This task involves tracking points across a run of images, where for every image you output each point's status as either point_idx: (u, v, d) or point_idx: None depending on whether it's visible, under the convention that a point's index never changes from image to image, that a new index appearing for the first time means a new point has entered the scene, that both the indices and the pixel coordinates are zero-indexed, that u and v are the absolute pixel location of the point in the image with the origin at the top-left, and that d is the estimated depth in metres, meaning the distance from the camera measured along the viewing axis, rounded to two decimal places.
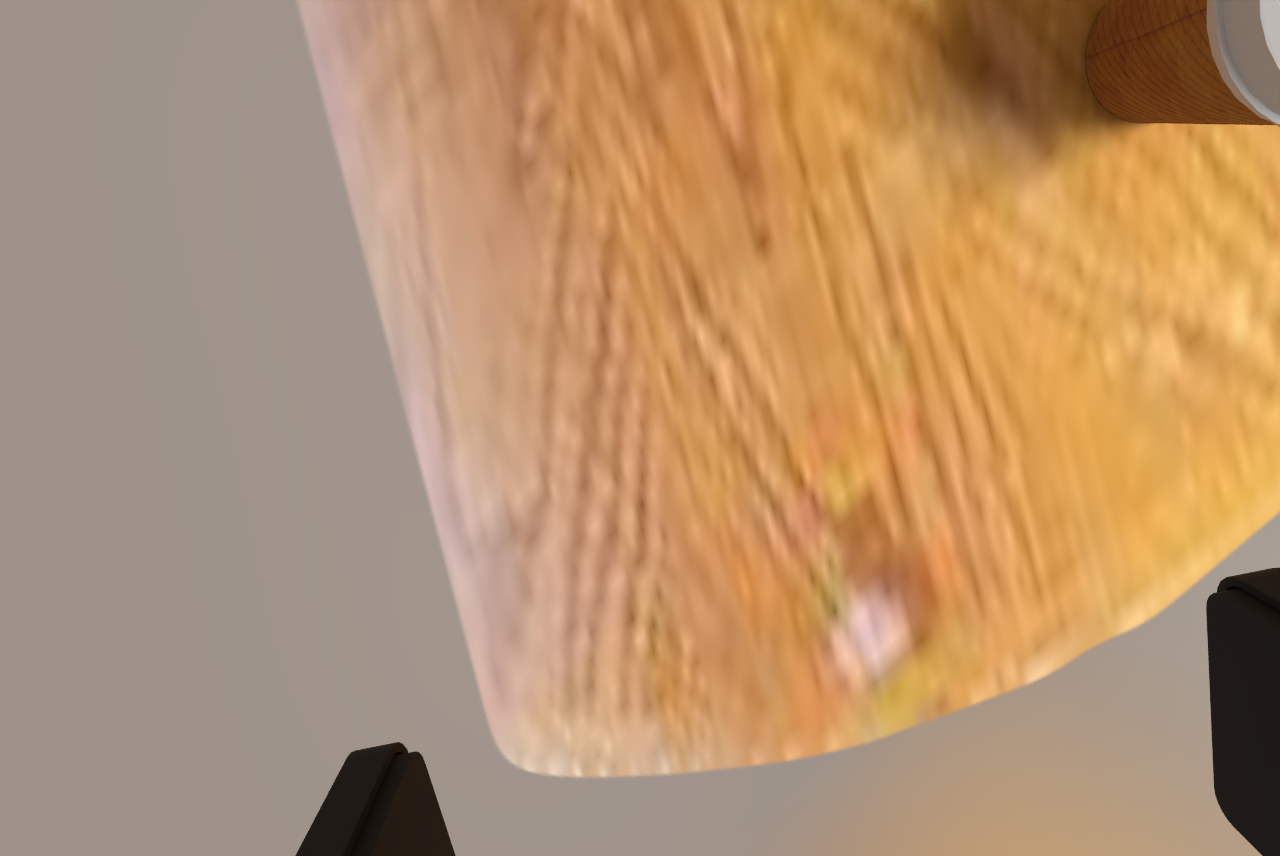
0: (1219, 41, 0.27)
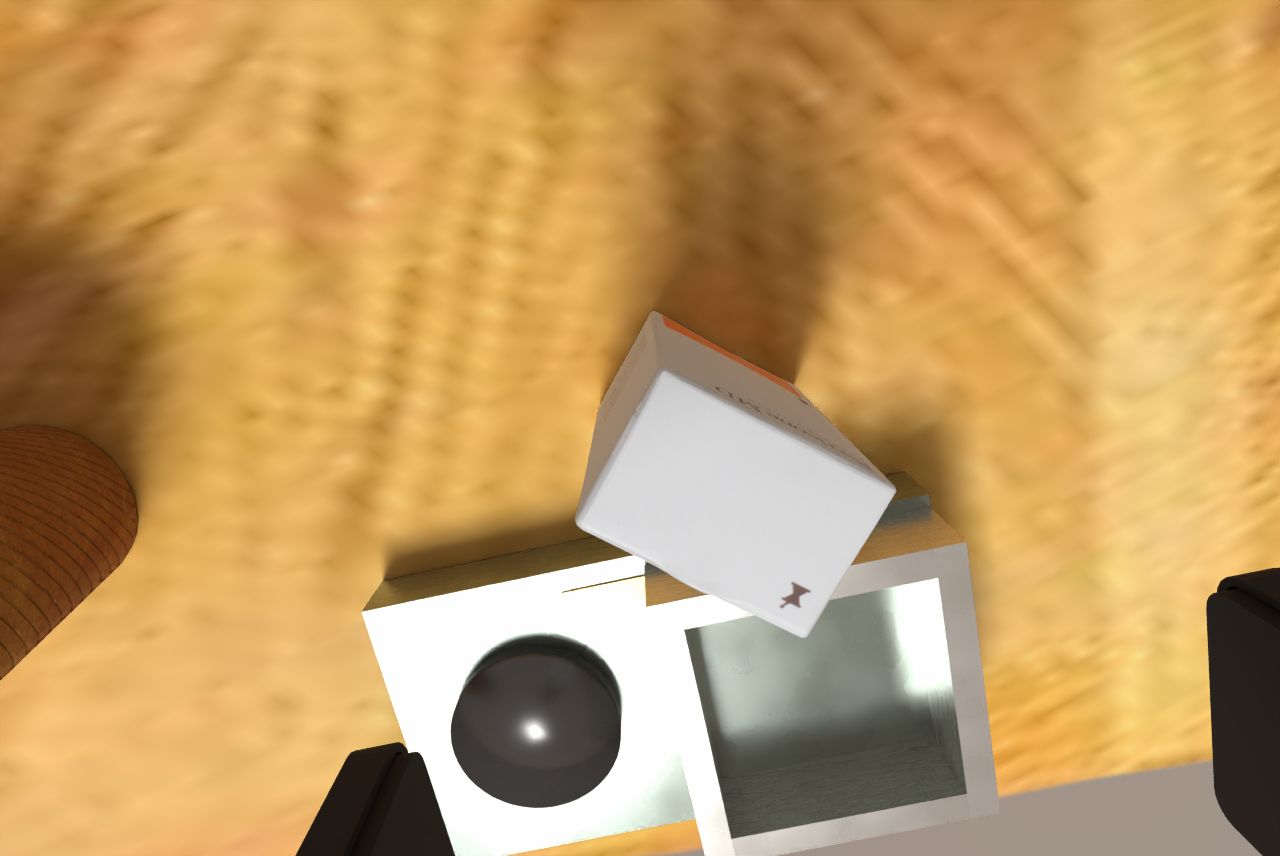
0: None
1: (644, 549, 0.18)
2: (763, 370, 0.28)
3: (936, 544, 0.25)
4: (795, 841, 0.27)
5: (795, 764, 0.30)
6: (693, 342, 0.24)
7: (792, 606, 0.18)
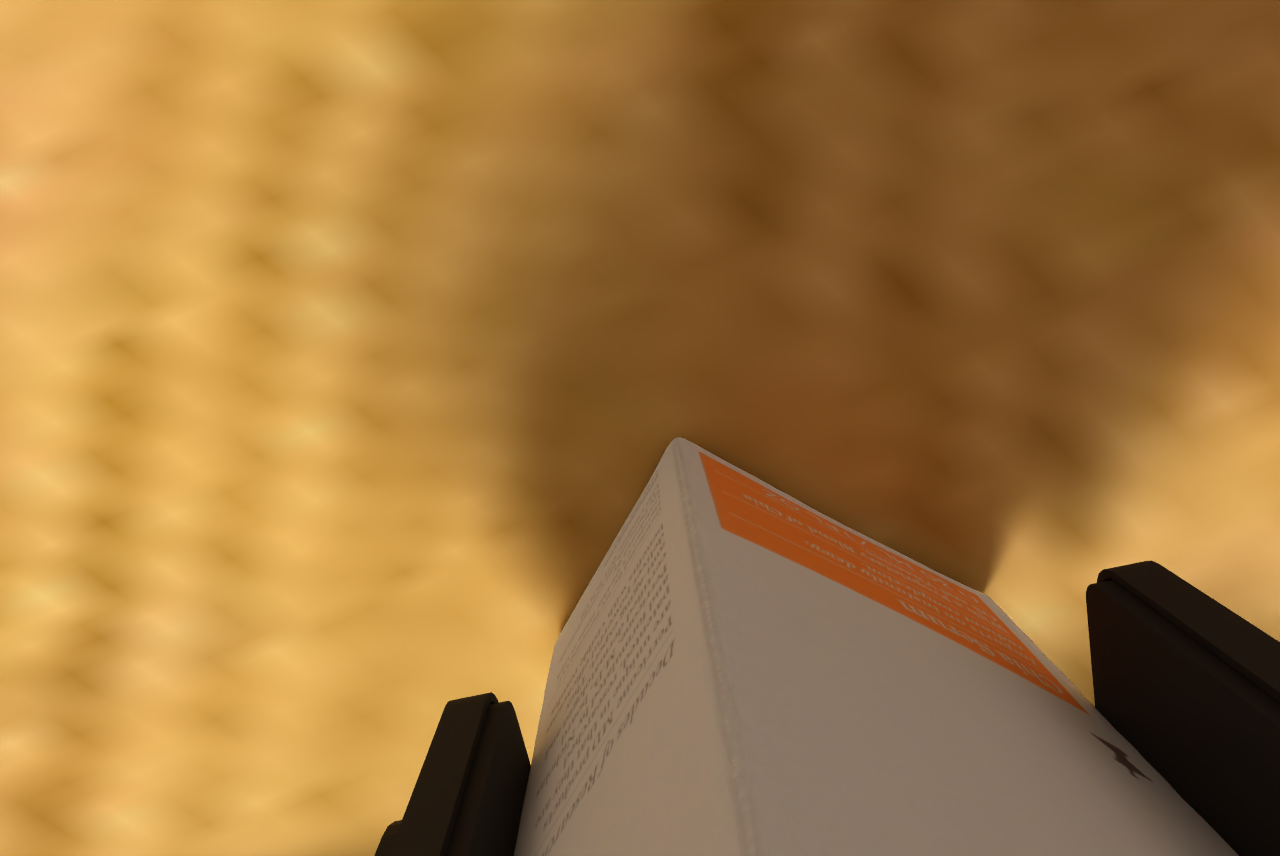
0: None
1: None
2: (937, 583, 0.12)
3: None
4: None
5: None
6: (810, 596, 0.08)
7: None
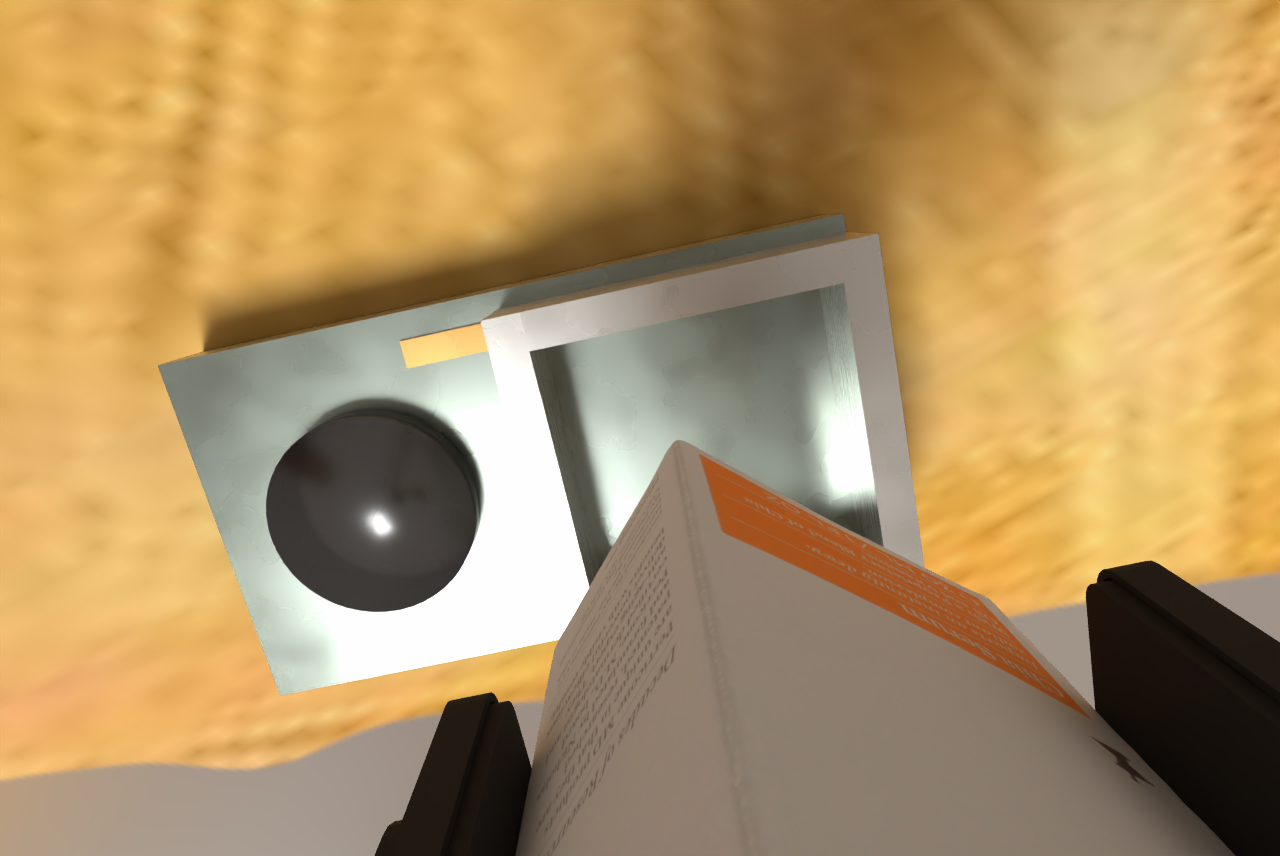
0: None
1: None
2: (938, 586, 0.12)
3: (842, 240, 0.20)
4: None
5: None
6: (811, 601, 0.08)
7: None
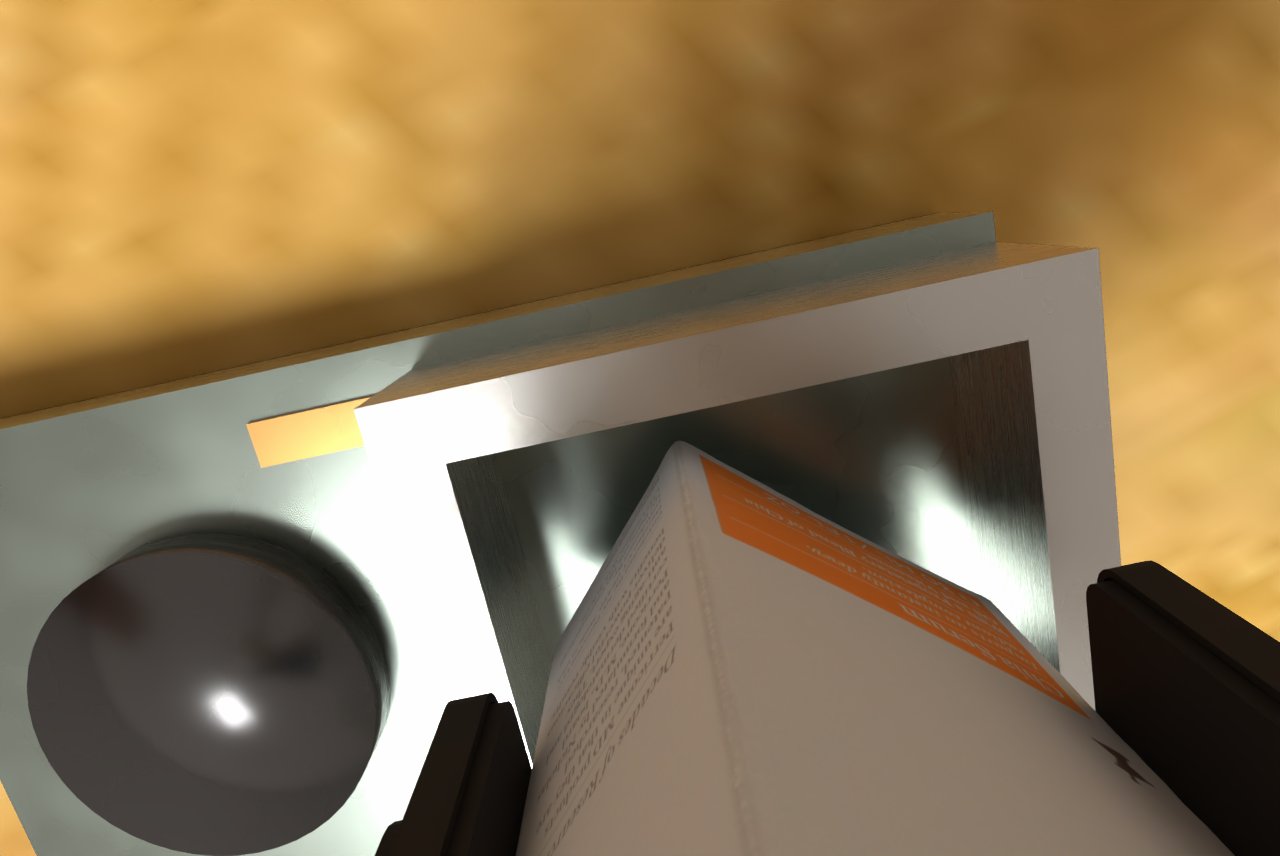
0: None
1: None
2: (938, 586, 0.12)
3: (1024, 260, 0.11)
4: None
5: None
6: (811, 601, 0.08)
7: None
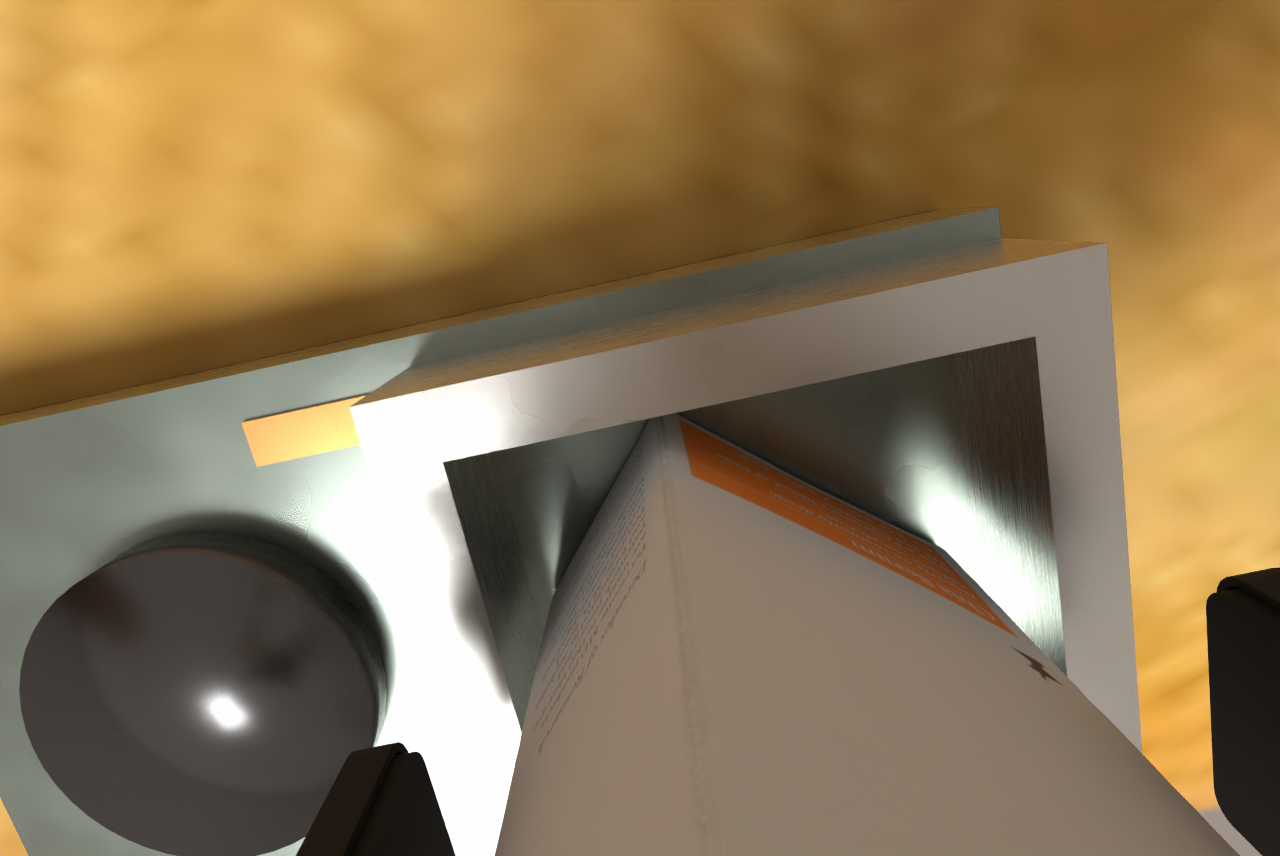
0: None
1: None
2: (893, 534, 0.13)
3: (1031, 256, 0.11)
4: None
5: None
6: (766, 528, 0.09)
7: None
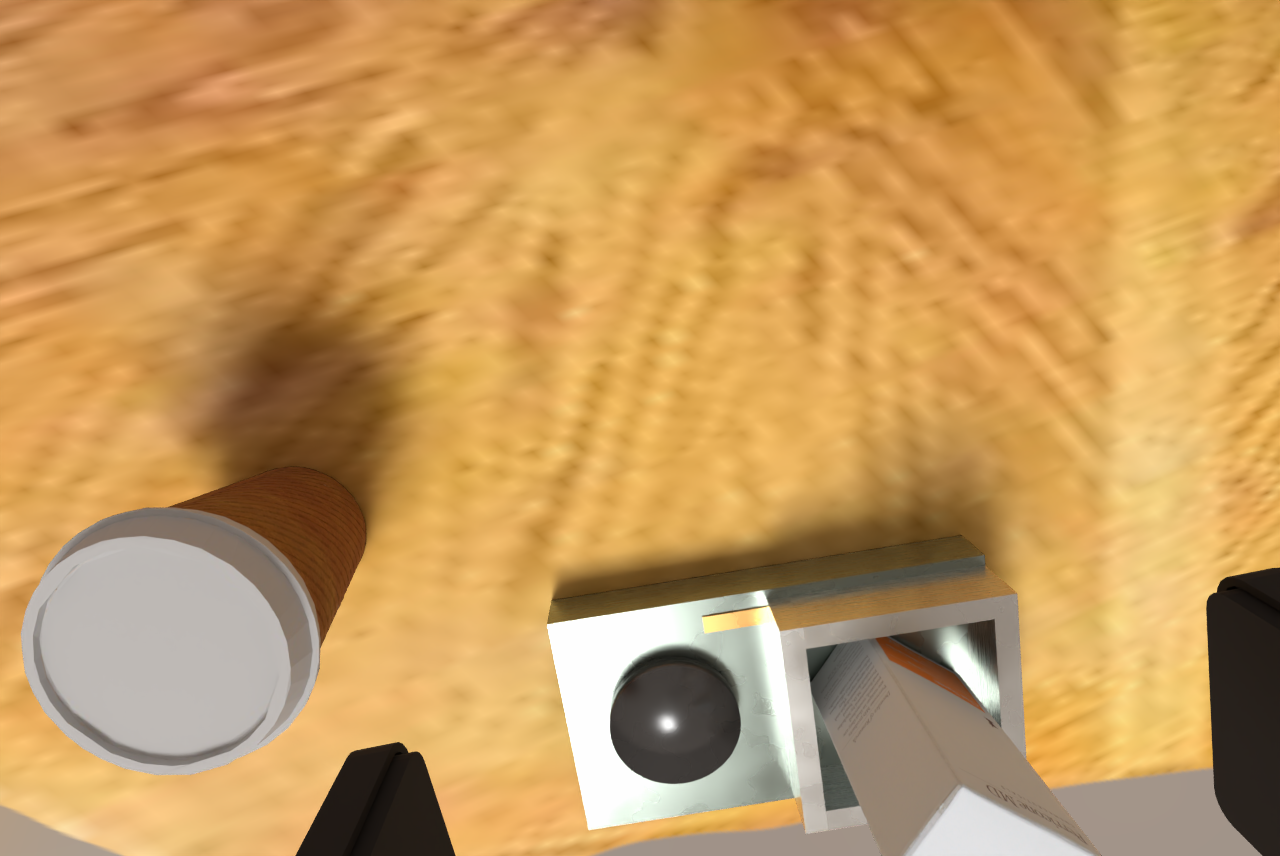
0: (110, 517, 0.26)
1: None
2: (942, 671, 0.36)
3: (994, 594, 0.34)
4: None
5: None
6: (915, 680, 0.32)
7: None
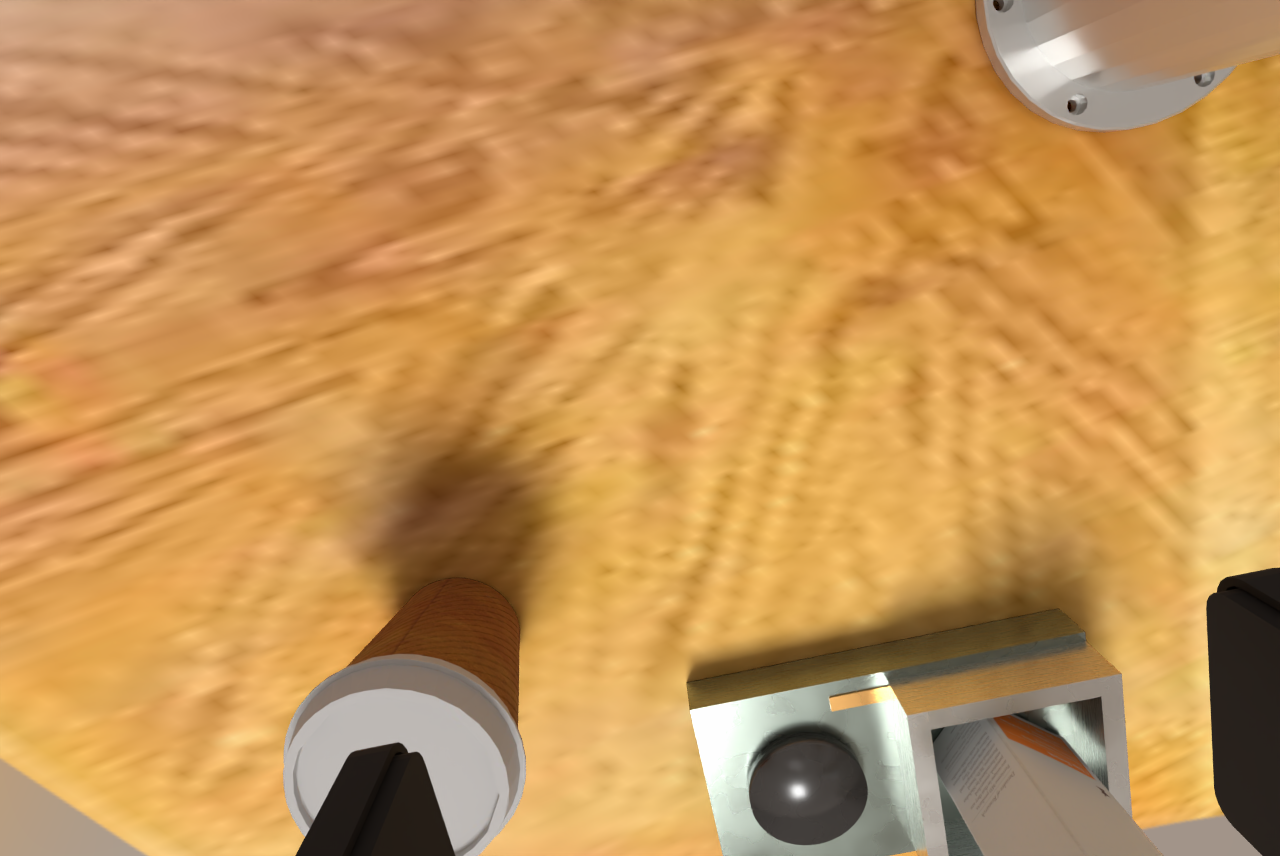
0: (349, 668, 0.31)
1: None
2: (1050, 738, 0.40)
3: (1100, 674, 0.37)
4: None
5: None
6: (1033, 757, 0.36)
7: None
